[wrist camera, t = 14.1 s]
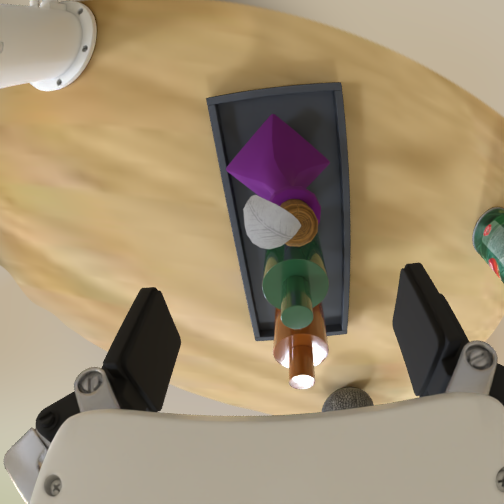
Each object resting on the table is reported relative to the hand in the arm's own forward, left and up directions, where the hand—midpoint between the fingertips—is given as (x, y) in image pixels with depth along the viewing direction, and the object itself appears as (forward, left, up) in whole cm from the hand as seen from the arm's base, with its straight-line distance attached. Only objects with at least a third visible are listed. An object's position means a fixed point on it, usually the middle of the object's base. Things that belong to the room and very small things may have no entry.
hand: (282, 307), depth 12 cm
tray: (+9, 0, -25) cm, 27 cm away
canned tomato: (+12, +30, -25) cm, 41 cm away
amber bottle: (+18, 0, -24) cm, 30 cm away
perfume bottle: (0, 0, -25) cm, 25 cm away
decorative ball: (+45, +8, -25) cm, 52 cm away
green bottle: (+9, 0, -24) cm, 26 cm away
